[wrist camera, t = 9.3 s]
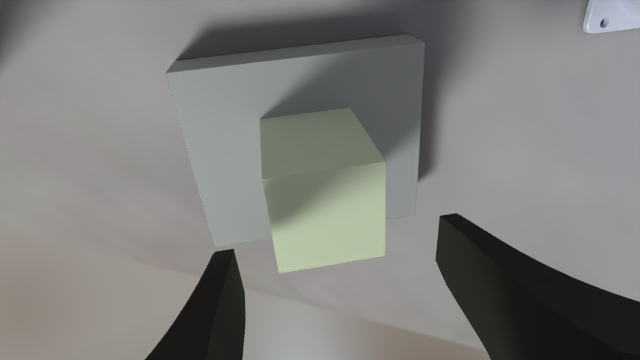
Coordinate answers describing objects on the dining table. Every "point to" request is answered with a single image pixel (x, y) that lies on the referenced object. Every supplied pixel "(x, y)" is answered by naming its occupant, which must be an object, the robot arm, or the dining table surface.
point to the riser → (290, 99)
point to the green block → (322, 189)
